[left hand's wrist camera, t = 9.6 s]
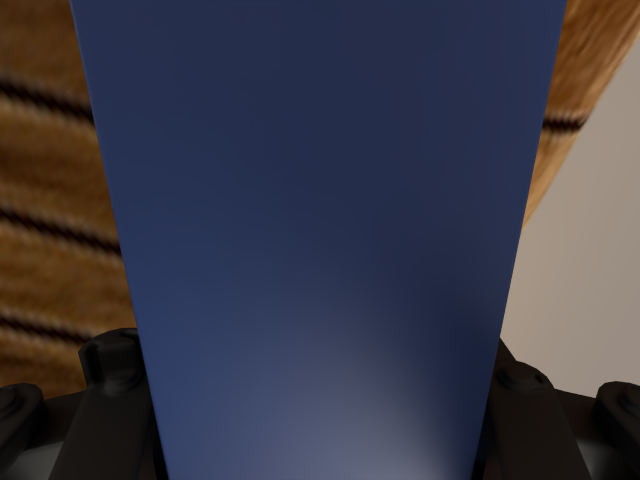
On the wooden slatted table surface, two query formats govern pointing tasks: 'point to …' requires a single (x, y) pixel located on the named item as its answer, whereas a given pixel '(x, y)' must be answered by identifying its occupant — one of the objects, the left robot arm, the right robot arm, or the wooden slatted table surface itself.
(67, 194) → the wooden slatted table surface
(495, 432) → the left robot arm
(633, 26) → the wooden slatted table surface
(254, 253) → the bar
